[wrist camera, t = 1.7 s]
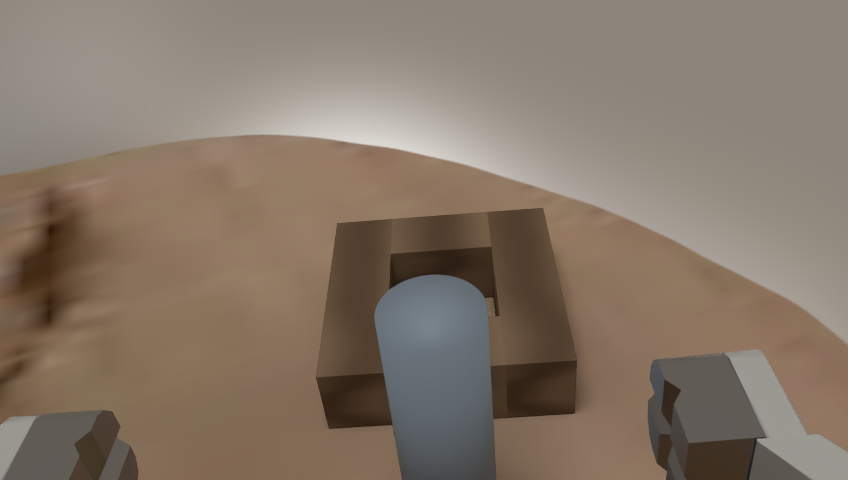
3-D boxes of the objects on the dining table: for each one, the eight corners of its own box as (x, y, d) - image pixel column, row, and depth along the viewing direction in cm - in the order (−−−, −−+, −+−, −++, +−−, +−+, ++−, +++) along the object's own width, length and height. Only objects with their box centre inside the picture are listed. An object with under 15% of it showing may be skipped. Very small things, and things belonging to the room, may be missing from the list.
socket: (328, 428, 41) (316, 377, 39) (346, 271, 52) (337, 223, 49) (574, 413, 41) (576, 360, 38) (542, 257, 51) (542, 207, 48)
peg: (394, 536, 36) (351, 317, 27) (453, 480, 38) (429, 260, 30) (458, 592, 34) (432, 371, 25) (516, 529, 36) (511, 306, 27)
